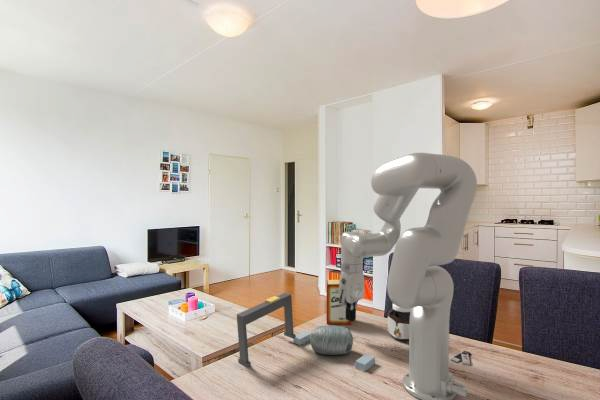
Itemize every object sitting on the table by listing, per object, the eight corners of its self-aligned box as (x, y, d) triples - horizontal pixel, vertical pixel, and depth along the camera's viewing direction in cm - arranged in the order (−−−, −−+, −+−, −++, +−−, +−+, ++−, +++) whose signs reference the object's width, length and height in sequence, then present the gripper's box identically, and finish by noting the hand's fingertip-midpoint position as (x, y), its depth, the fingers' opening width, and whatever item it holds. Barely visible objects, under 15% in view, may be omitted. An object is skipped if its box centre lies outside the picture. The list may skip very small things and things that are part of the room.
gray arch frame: (247, 367, 91) (244, 315, 90) (238, 362, 94) (234, 312, 93) (295, 337, 107) (293, 292, 105) (286, 333, 109) (283, 290, 108)
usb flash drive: (464, 353, 101) (464, 350, 101) (481, 359, 97) (481, 356, 97) (450, 361, 96) (450, 358, 96) (468, 368, 92) (468, 365, 92)
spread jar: (384, 334, 114) (384, 302, 114) (406, 328, 119) (406, 298, 119) (410, 348, 103) (410, 313, 103) (433, 341, 109) (433, 307, 109)
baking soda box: (349, 318, 129) (349, 279, 129) (351, 324, 123) (351, 283, 123) (326, 318, 130) (326, 279, 130) (326, 324, 123) (326, 283, 123)
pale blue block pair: (374, 363, 94) (374, 356, 94) (364, 371, 89) (364, 364, 89) (304, 336, 112) (304, 331, 112) (293, 342, 107) (293, 336, 107)
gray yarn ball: (355, 335, 105) (347, 314, 101) (357, 361, 97) (349, 339, 93) (315, 341, 108) (307, 320, 104) (314, 366, 100) (305, 345, 96)
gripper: (349, 273, 101) (348, 329, 102) (371, 265, 113) (370, 316, 113) (330, 269, 106) (329, 323, 107) (353, 262, 118) (352, 311, 118)
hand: (350, 319), depth 110 cm, fingers closed
